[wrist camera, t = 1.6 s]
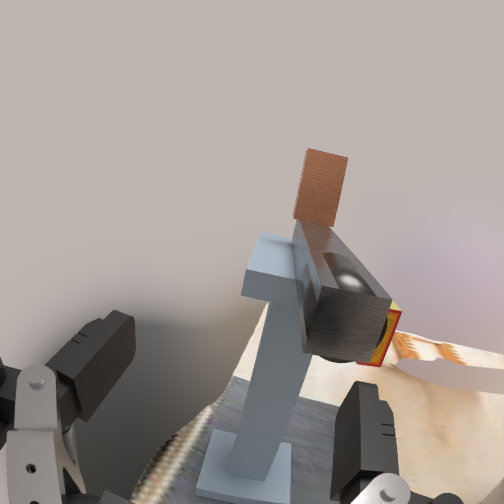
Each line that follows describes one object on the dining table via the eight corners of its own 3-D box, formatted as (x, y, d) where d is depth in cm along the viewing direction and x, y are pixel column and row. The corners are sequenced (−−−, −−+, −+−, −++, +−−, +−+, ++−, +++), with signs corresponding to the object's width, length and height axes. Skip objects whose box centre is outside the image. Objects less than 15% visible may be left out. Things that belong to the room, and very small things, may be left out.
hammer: (286, 243, 35) (306, 150, 33) (322, 251, 35) (342, 159, 33) (289, 354, 13) (348, 99, 10) (377, 368, 13) (443, 130, 10)
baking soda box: (350, 345, 83) (368, 291, 79) (372, 349, 83) (391, 296, 79) (356, 364, 74) (378, 305, 70) (380, 367, 73) (402, 310, 70)
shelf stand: (213, 428, 46) (253, 229, 38) (287, 442, 45) (351, 251, 38) (191, 505, 30) (232, 265, 23) (285, 522, 30) (392, 299, 22)
